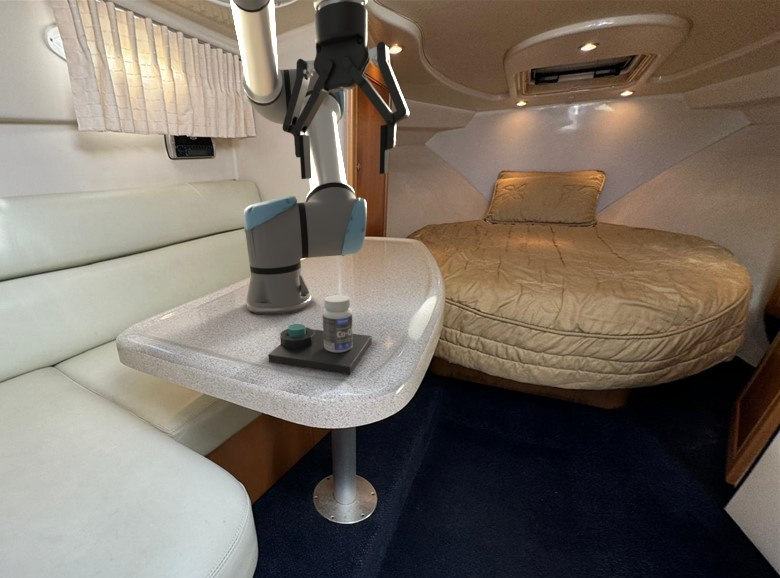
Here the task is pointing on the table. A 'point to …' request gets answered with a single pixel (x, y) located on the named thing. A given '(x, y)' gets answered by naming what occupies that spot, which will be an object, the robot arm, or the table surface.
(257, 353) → the table surface
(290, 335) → the power button
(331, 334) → the pill bottle
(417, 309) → the table surface
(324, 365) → the dark grey base board
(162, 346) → the table surface
